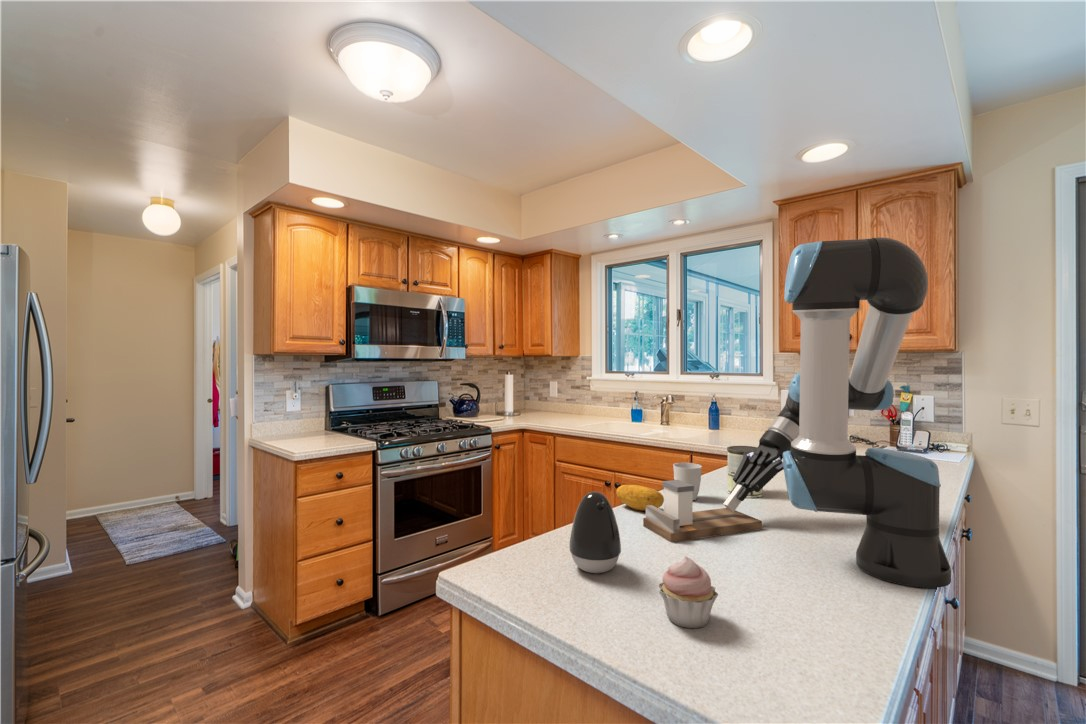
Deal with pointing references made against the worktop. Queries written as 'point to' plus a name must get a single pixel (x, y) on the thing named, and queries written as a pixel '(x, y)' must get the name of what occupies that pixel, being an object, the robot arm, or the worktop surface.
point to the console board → (699, 524)
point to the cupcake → (687, 594)
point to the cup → (689, 475)
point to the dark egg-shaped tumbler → (595, 535)
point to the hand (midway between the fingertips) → (728, 508)
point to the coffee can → (733, 463)
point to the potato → (639, 496)
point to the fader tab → (678, 500)
